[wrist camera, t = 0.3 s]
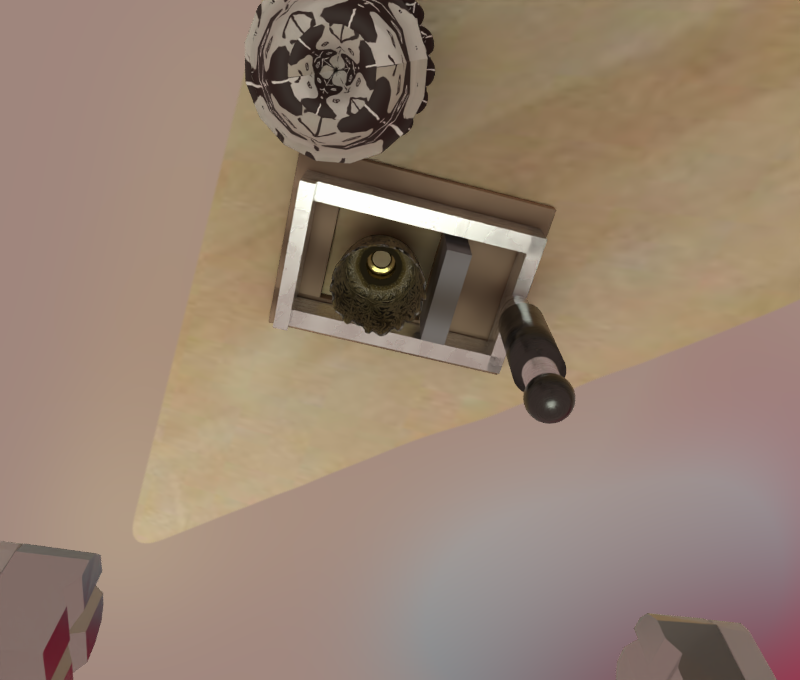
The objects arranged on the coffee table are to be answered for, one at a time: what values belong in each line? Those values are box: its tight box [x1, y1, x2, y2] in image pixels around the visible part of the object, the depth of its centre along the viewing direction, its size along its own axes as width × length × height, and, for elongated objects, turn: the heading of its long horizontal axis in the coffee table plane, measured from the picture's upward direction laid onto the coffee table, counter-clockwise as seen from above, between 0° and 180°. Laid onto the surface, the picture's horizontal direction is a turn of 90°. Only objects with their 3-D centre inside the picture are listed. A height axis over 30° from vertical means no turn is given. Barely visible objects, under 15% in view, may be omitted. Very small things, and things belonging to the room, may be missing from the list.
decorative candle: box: [245, 0, 435, 163], centre depth 39 cm, size 9×9×25 cm
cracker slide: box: [273, 170, 575, 424], centre depth 48 cm, size 12×21×19 cm, turn 76°
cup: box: [330, 235, 426, 336], centre depth 54 cm, size 8×7×8 cm
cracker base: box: [269, 152, 556, 375], centre depth 55 cm, size 16×22×6 cm
